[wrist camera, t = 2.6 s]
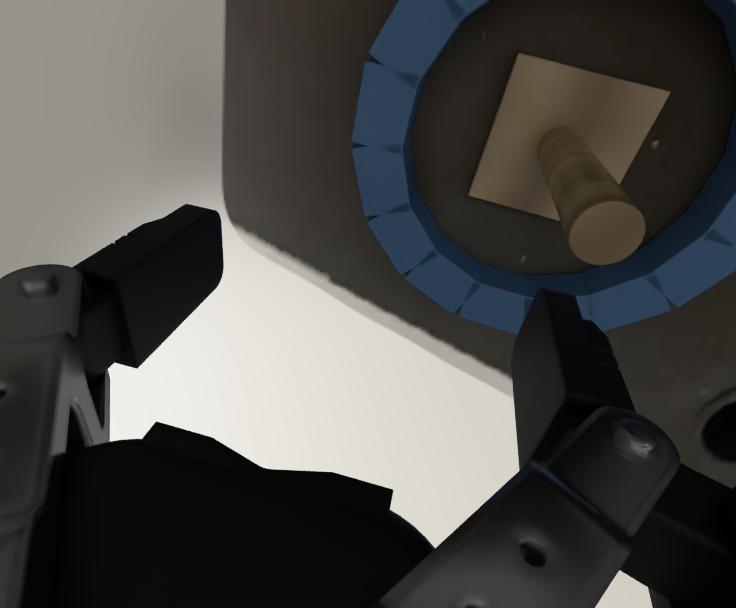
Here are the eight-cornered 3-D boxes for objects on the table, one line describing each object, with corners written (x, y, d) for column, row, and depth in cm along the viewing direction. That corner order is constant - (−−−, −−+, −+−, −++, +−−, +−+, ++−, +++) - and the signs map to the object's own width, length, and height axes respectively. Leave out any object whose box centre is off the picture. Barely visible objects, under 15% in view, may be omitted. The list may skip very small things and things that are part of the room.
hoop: (338, 258, 33) (326, 277, 30) (420, -178, 20) (411, -205, 17) (643, 349, 31) (656, 377, 29) (954, -59, 18) (1027, -71, 16)
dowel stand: (468, 191, 28) (457, 294, 18) (517, 51, 24) (542, 79, 13) (591, 226, 28) (655, 353, 17) (666, 89, 23) (816, 149, 13)
